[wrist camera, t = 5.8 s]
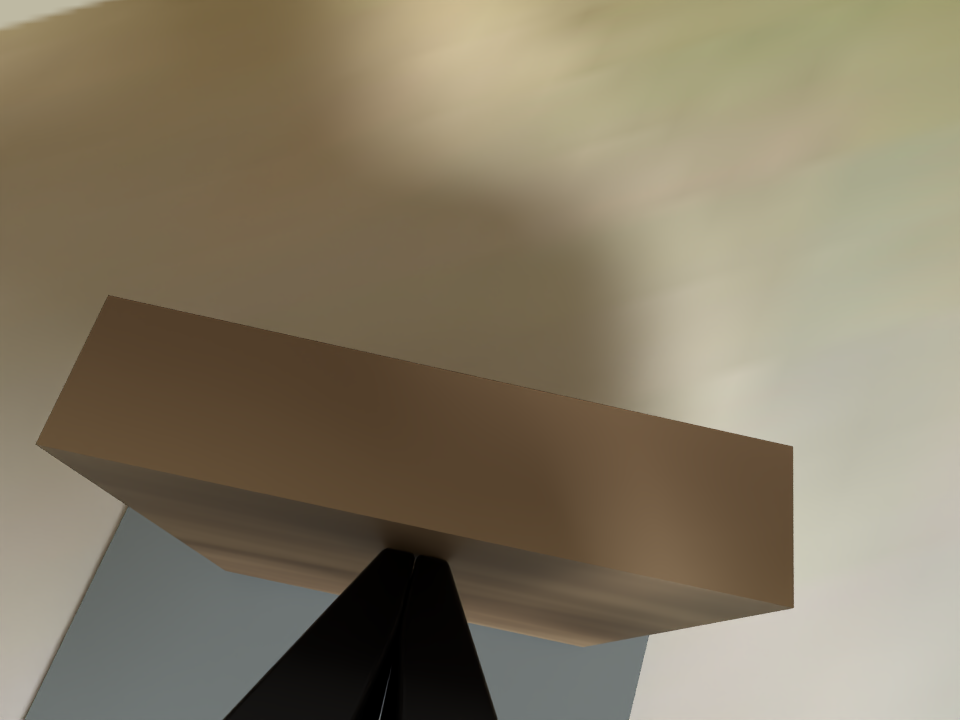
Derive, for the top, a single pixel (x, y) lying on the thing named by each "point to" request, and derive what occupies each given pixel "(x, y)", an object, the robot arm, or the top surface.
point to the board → (425, 478)
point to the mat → (269, 645)
